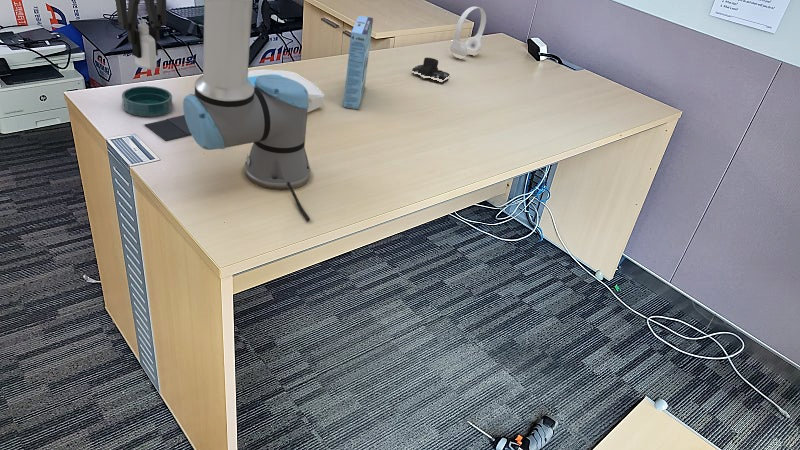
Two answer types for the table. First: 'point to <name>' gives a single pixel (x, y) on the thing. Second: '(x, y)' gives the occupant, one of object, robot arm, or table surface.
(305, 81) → the document scanner
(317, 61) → the table surface
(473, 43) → the headphones
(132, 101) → the bowl
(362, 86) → the blue cardboard box
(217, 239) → the table surface
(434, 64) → the film camera
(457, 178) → the table surface
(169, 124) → the napkin
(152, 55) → the eye dropper bottle
